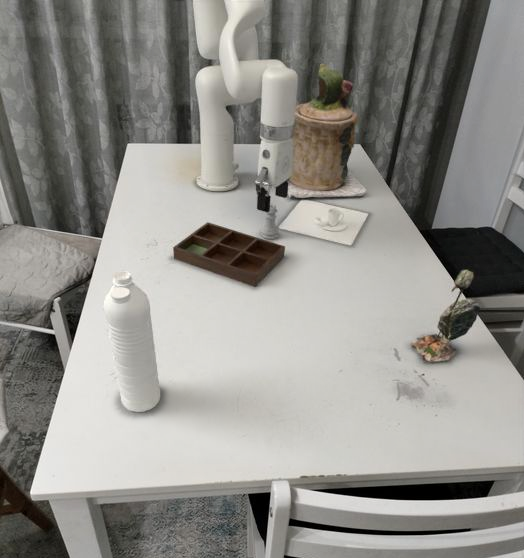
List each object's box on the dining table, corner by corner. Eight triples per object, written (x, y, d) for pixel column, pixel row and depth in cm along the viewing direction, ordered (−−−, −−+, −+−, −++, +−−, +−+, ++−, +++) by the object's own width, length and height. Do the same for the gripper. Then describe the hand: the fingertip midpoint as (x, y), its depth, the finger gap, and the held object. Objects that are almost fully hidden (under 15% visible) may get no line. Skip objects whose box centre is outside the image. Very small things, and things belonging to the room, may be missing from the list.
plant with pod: (473, 360, 97) (513, 273, 84) (419, 365, 95) (452, 277, 82) (454, 334, 103) (488, 248, 90) (403, 338, 101) (430, 251, 88)
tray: (207, 233, 129) (207, 222, 127) (284, 257, 122) (285, 246, 120) (173, 258, 119) (173, 247, 117) (255, 287, 112) (255, 275, 110)
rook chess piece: (280, 233, 131) (282, 204, 125) (274, 241, 128) (277, 212, 122) (263, 230, 132) (265, 201, 126) (258, 237, 129) (259, 208, 123)
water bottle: (122, 386, 87) (99, 262, 71) (160, 383, 88) (146, 261, 72) (119, 425, 81) (93, 299, 64) (160, 421, 82) (145, 296, 65)
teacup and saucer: (310, 227, 134) (312, 213, 131) (319, 215, 140) (321, 201, 137) (342, 235, 132) (344, 220, 129) (349, 222, 138) (352, 208, 135)
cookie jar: (288, 200, 145) (300, 77, 124) (268, 168, 163) (275, 56, 142) (368, 196, 150) (391, 78, 129) (339, 165, 168) (356, 57, 147)
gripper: (274, 145, 105) (270, 220, 116) (307, 124, 117) (300, 194, 128) (243, 138, 107) (241, 212, 119) (279, 118, 119) (274, 188, 130)
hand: (272, 203), depth 123 cm, fingers open, 9 cm apart
